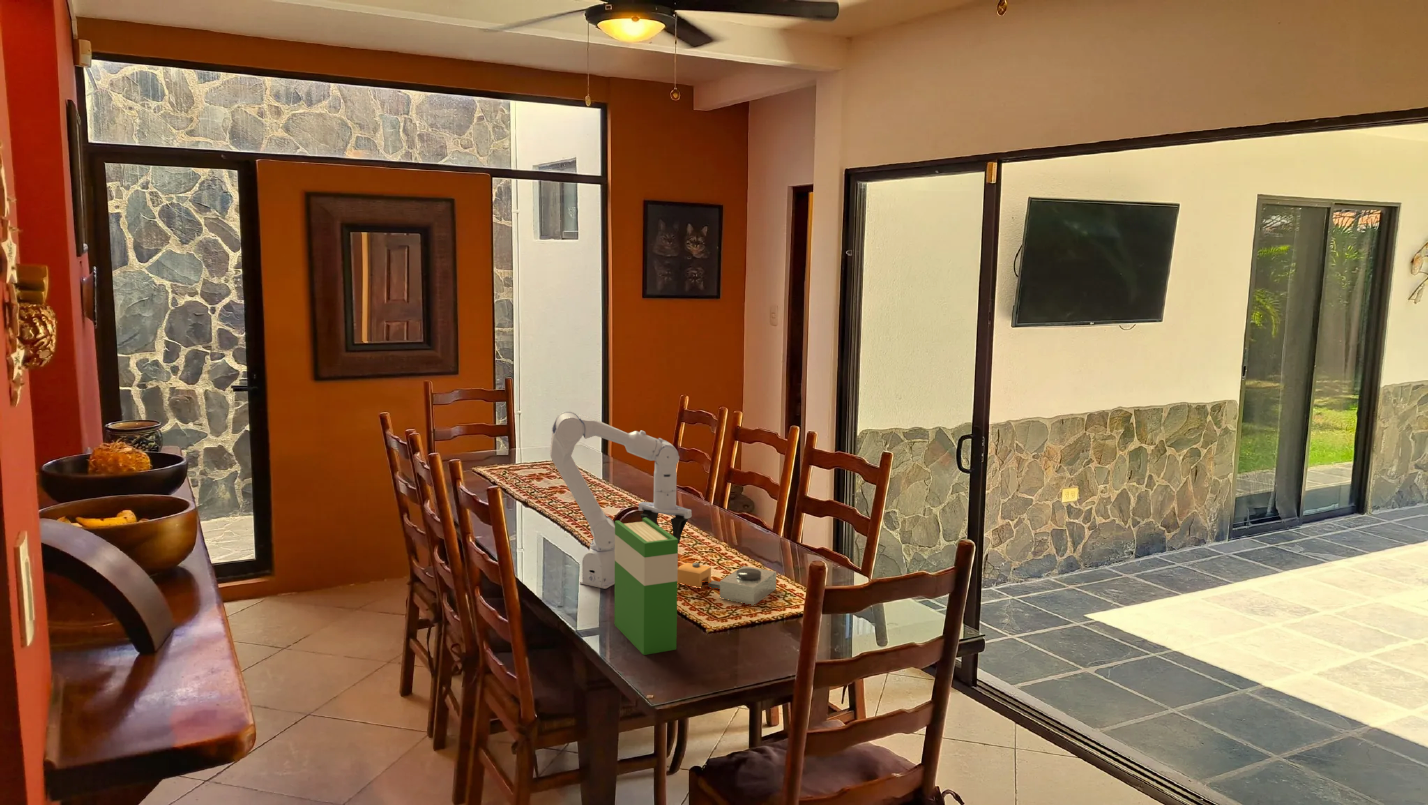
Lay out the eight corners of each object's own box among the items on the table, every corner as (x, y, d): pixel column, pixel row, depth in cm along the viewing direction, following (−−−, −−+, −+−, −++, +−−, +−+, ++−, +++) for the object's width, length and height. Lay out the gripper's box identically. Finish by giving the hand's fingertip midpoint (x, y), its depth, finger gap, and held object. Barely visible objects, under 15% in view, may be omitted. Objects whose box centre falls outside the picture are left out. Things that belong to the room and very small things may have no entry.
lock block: (699, 589, 240) (699, 571, 239) (674, 584, 243) (675, 566, 242) (710, 582, 245) (711, 564, 244) (686, 577, 248) (686, 560, 247)
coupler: (753, 605, 229) (754, 583, 228) (697, 594, 236) (698, 572, 235) (775, 589, 240) (776, 568, 239) (722, 578, 247) (722, 558, 246)
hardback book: (614, 624, 216) (614, 520, 212) (645, 620, 219) (646, 517, 215) (643, 655, 200) (644, 543, 196) (676, 649, 203) (678, 539, 199)
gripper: (697, 490, 244) (696, 541, 246) (648, 482, 251) (648, 533, 253) (684, 496, 238) (683, 549, 240) (634, 488, 245) (633, 540, 247)
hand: (664, 541), depth 246 cm, fingers open, 6 cm apart
